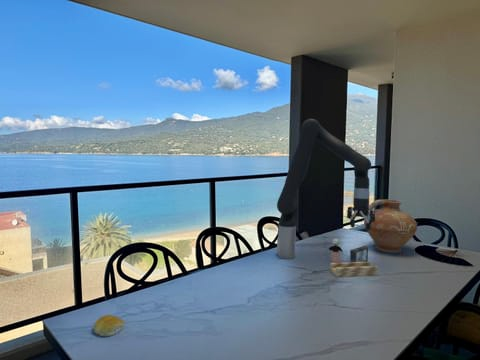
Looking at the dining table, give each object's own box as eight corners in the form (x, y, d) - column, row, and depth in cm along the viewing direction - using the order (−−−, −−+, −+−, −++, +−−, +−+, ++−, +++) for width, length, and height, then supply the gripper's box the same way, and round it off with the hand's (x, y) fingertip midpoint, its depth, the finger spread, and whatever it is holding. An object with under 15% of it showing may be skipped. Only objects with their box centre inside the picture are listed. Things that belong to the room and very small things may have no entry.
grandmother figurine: (341, 262, 166) (342, 238, 165) (343, 264, 162) (344, 240, 161) (326, 261, 167) (327, 237, 166) (327, 264, 163) (328, 239, 162)
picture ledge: (337, 276, 146) (337, 268, 146) (329, 270, 154) (330, 262, 153) (378, 275, 148) (378, 267, 148) (368, 269, 156) (369, 261, 156)
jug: (426, 258, 173) (429, 203, 171) (373, 257, 174) (376, 203, 171) (400, 243, 202) (403, 196, 199) (355, 243, 202) (357, 196, 199)
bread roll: (110, 320, 107) (110, 308, 107) (128, 328, 102) (128, 316, 102) (87, 331, 100) (87, 319, 100) (105, 340, 95) (104, 327, 95)
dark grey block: (354, 266, 159) (354, 251, 159) (349, 265, 162) (350, 249, 161) (367, 262, 167) (368, 247, 166) (363, 260, 169) (363, 245, 168)
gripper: (344, 196, 165) (343, 227, 166) (370, 199, 153) (369, 232, 155) (353, 195, 169) (352, 225, 170) (378, 198, 158) (377, 230, 159)
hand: (360, 228), depth 163 cm, fingers open, 8 cm apart
